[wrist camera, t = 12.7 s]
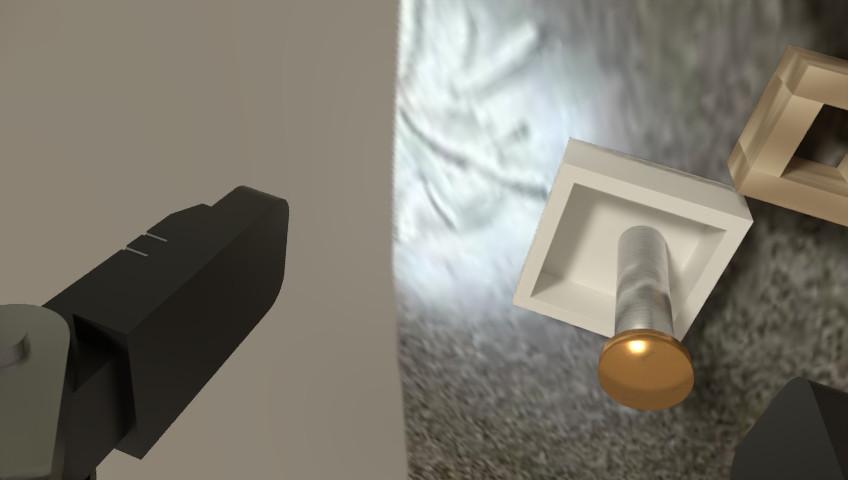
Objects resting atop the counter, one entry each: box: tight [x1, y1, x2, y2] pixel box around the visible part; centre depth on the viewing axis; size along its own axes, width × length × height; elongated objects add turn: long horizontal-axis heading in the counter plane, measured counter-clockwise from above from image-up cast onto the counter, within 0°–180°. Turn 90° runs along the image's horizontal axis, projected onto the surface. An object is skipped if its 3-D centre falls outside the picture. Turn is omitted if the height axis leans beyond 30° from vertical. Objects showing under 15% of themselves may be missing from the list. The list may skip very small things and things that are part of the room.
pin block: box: [727, 45, 848, 226], centre depth 32 cm, size 7×7×4 cm
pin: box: [598, 225, 694, 410], centre depth 34 cm, size 4×4×13 cm
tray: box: [512, 137, 753, 342], centre depth 39 cm, size 11×11×4 cm
